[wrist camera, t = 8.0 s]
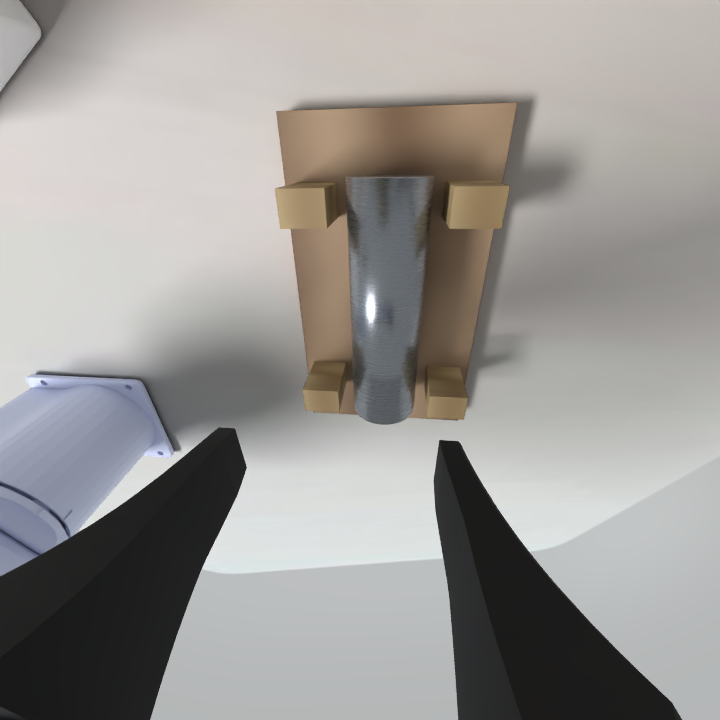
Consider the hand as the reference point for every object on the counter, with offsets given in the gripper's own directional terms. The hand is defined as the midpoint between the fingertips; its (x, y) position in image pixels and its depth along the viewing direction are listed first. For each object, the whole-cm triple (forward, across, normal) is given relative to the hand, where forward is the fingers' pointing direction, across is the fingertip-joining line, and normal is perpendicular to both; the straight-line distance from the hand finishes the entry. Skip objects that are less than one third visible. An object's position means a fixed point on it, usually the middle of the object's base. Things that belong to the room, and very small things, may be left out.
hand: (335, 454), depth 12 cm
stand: (+10, -2, -2) cm, 11 cm away
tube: (+9, -1, -2) cm, 10 cm away
